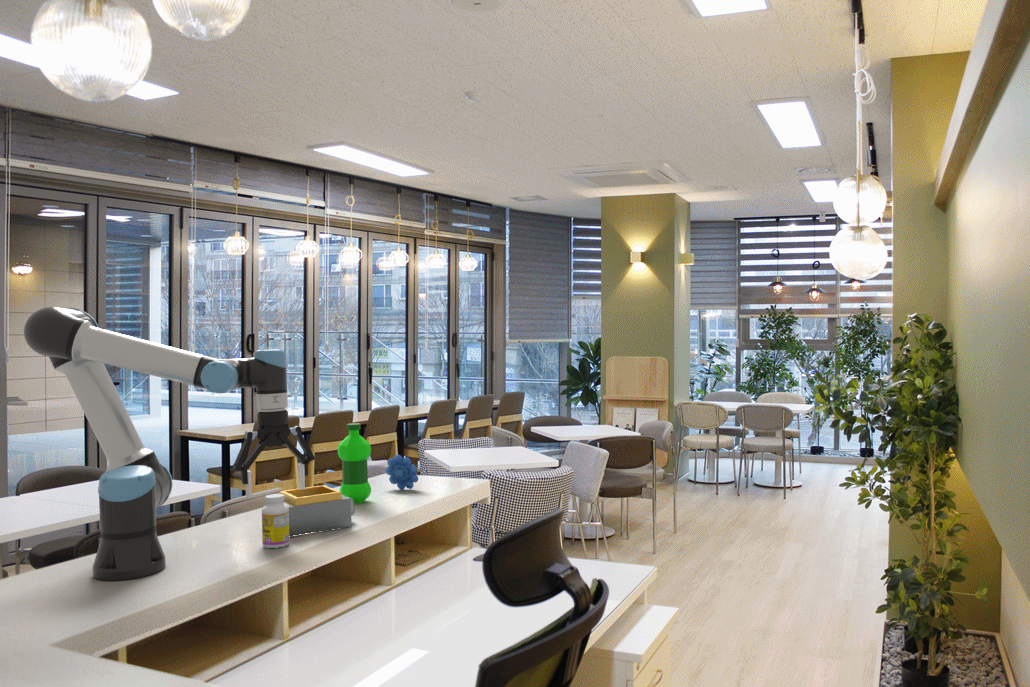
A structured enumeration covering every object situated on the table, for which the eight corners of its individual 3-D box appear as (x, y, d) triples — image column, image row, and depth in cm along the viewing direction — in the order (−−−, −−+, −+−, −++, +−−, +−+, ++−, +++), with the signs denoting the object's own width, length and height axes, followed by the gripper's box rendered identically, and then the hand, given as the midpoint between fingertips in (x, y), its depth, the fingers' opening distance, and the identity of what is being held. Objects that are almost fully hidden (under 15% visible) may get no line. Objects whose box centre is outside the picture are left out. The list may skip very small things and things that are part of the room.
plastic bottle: (357, 506, 246) (355, 426, 246) (332, 503, 252) (330, 425, 251) (378, 500, 255) (376, 422, 254) (354, 497, 260) (352, 421, 260)
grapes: (381, 491, 269) (380, 456, 269) (388, 487, 276) (387, 453, 275) (414, 492, 267) (413, 456, 266) (420, 488, 273) (419, 453, 273)
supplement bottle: (259, 545, 204) (258, 495, 203) (285, 540, 207) (283, 491, 207) (266, 550, 198) (265, 499, 198) (293, 546, 201) (291, 496, 201)
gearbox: (287, 537, 210) (286, 500, 210) (271, 527, 222) (270, 492, 222) (361, 525, 222) (360, 489, 222) (342, 516, 234) (341, 482, 234)
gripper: (226, 415, 192) (229, 502, 192) (324, 406, 206) (328, 487, 206) (218, 413, 198) (221, 497, 198) (314, 404, 212) (318, 483, 213)
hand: (276, 492), depth 202 cm, fingers open, 13 cm apart
